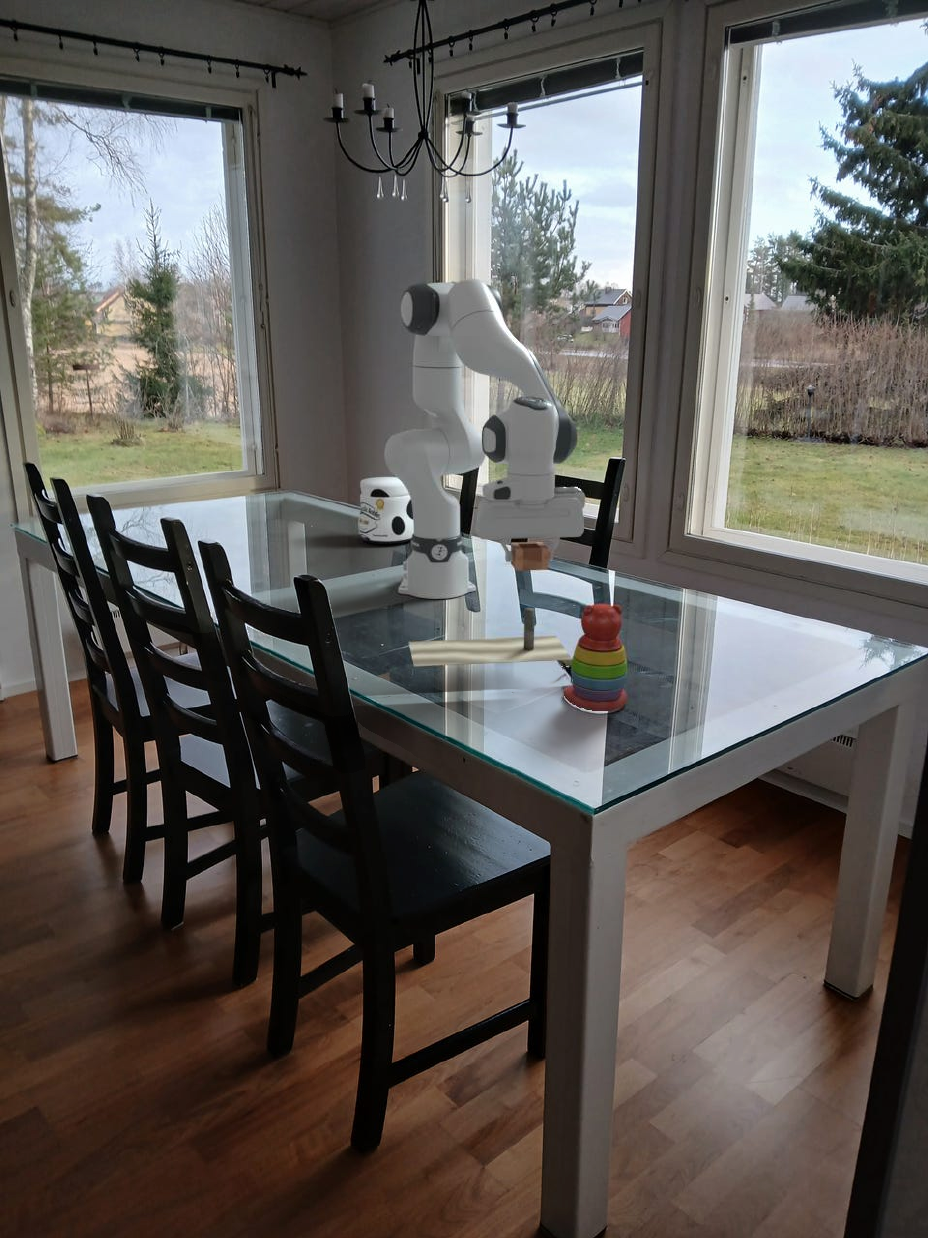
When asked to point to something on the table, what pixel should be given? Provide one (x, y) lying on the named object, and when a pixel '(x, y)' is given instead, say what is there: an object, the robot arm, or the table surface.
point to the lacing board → (491, 649)
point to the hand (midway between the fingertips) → (529, 560)
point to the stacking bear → (599, 661)
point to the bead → (529, 556)
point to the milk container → (385, 511)
